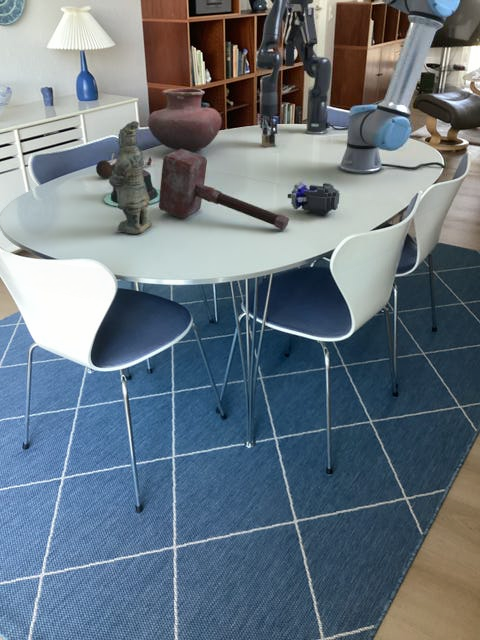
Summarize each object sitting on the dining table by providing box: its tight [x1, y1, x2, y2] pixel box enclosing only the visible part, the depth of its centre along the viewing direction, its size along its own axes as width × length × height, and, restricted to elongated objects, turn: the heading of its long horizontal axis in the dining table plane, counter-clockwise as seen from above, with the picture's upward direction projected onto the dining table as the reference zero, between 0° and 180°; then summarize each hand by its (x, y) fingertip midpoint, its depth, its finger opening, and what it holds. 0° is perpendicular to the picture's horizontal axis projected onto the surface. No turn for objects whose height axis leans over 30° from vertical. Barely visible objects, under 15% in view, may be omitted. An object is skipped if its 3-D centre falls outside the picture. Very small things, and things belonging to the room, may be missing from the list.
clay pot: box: [147, 87, 223, 153], centre depth 235 cm, size 30×30×25 cm
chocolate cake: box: [103, 168, 160, 207], centre depth 186 cm, size 15×19×20 cm
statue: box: [108, 120, 153, 235], centre depth 154 cm, size 11×9×30 cm
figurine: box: [95, 153, 153, 179], centre depth 214 cm, size 13×8×25 cm
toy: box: [287, 180, 341, 216], centre depth 168 cm, size 9×9×15 cm
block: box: [261, 133, 276, 148], centre depth 246 cm, size 5×4×5 cm
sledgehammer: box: [158, 149, 290, 231], centre depth 163 cm, size 17×10×40 cm
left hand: (268, 141), depth 246 cm, fingers open, 8 cm apart
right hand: (298, 68), depth 171 cm, fingers open, 13 cm apart
